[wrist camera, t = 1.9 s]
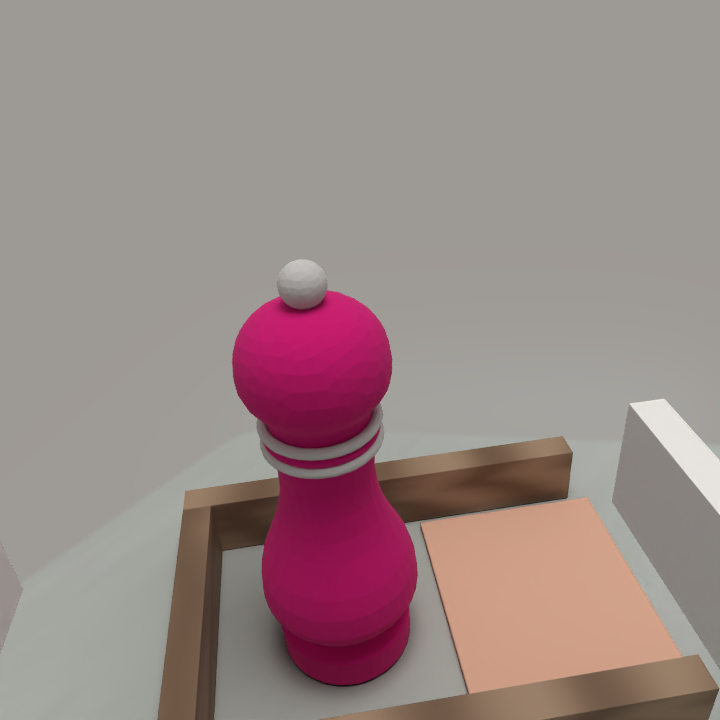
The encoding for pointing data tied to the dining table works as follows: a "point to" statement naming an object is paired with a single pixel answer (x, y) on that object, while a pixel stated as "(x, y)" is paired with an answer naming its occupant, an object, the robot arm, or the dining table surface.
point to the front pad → (540, 596)
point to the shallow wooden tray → (412, 503)
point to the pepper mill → (327, 478)
